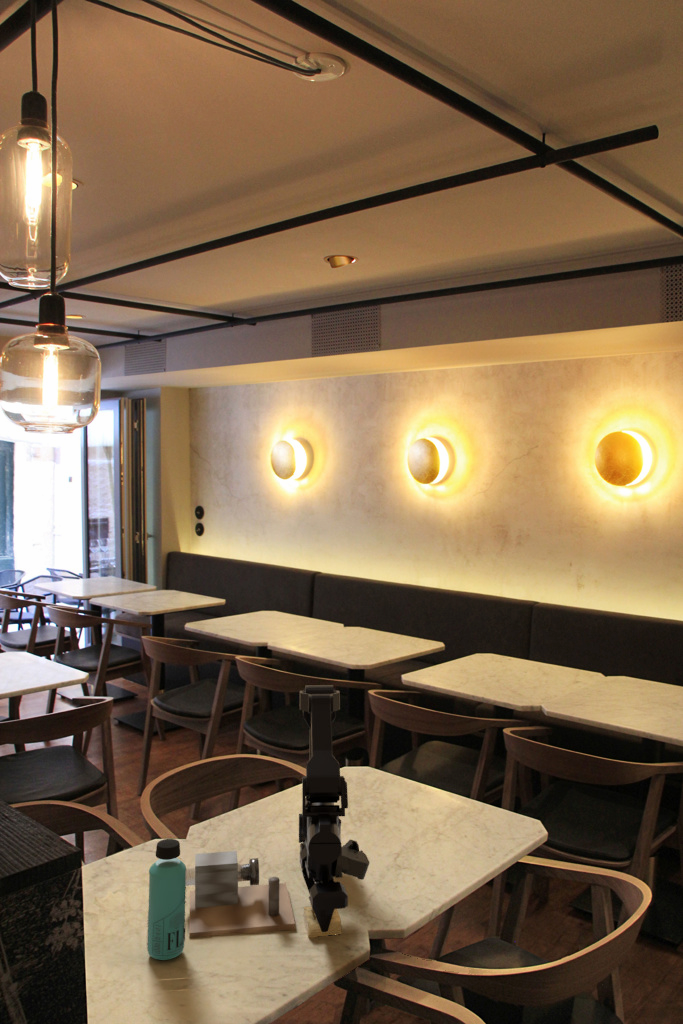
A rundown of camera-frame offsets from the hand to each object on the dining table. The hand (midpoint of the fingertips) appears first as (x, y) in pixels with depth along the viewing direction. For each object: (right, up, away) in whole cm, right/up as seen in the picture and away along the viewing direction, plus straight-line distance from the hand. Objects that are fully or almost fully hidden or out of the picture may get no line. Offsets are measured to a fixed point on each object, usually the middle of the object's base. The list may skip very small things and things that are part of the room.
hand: (322, 921), depth 146 cm
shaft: (-20, +3, +7) cm, 21 cm away
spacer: (0, -1, 0) cm, 1 cm away
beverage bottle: (-27, -1, -10) cm, 28 cm away
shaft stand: (-16, -1, +5) cm, 16 cm away
